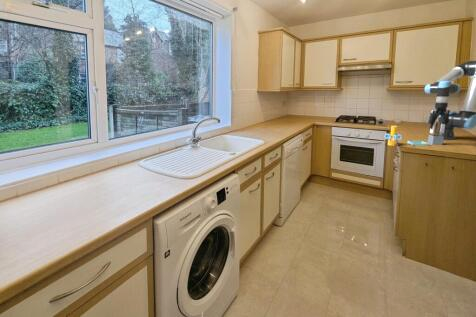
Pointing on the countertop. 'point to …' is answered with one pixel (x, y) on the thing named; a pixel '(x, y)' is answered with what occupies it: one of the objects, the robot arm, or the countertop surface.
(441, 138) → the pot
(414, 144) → the tray
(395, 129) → the yellow and blue toy
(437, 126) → the dowel
